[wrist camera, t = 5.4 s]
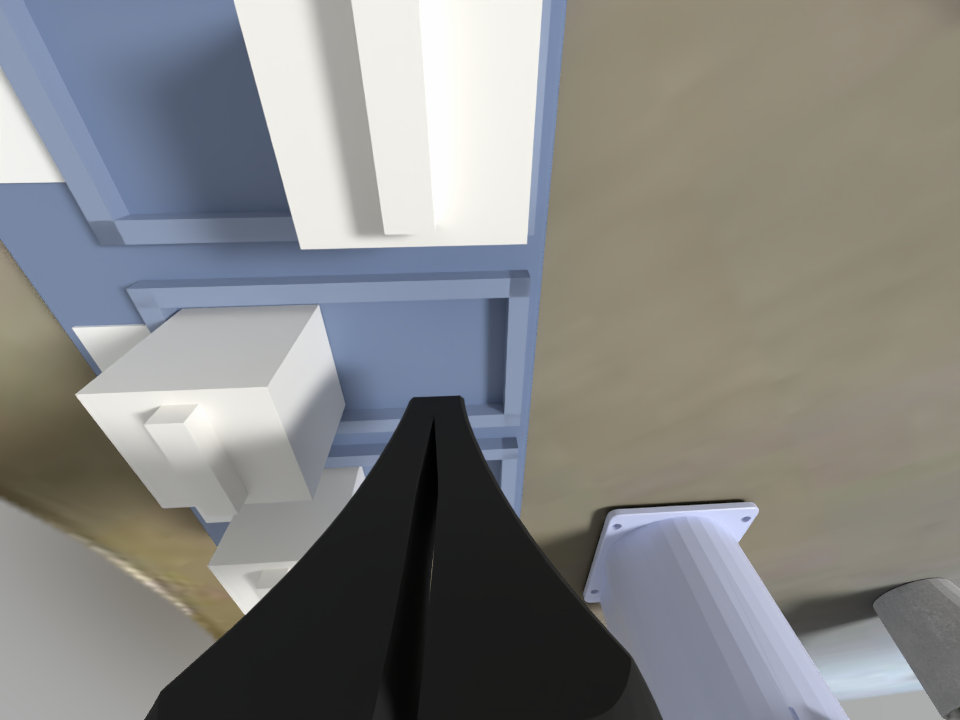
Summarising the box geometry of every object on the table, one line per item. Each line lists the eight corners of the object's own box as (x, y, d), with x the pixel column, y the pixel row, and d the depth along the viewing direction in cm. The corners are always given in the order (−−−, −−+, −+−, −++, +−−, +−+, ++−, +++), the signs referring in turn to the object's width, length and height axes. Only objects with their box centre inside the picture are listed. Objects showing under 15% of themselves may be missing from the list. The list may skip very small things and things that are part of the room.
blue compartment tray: (516, 510, 20) (520, 540, 19) (227, 526, 19) (210, 558, 18) (564, -97, 8) (587, -134, 7) (-185, -110, 7) (-321, -153, 6)
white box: (503, 195, 10) (532, 255, 7) (350, 198, 10) (289, 261, 6) (508, -11, 8) (558, -101, 4) (311, -12, 8) (181, -108, 4)
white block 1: (345, 404, 14) (306, 520, 10) (231, 409, 14) (148, 528, 10) (318, 304, 12) (255, 405, 8) (182, 308, 12) (50, 413, 8)
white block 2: (375, 519, 18) (355, 633, 14) (287, 524, 18) (243, 640, 14) (360, 461, 16) (331, 577, 12) (259, 465, 16) (197, 585, 12)
